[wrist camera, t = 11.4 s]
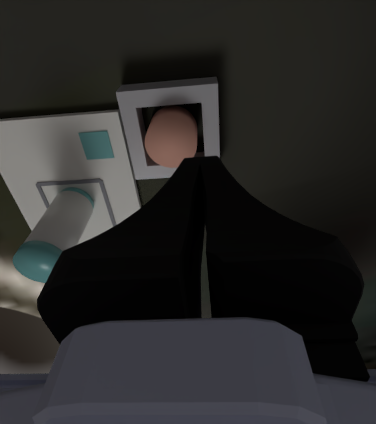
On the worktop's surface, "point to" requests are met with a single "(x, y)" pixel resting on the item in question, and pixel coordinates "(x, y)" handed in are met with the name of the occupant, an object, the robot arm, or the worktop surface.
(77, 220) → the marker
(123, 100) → the button housing
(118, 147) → the picture card
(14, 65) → the worktop surface
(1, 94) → the worktop surface
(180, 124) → the button
